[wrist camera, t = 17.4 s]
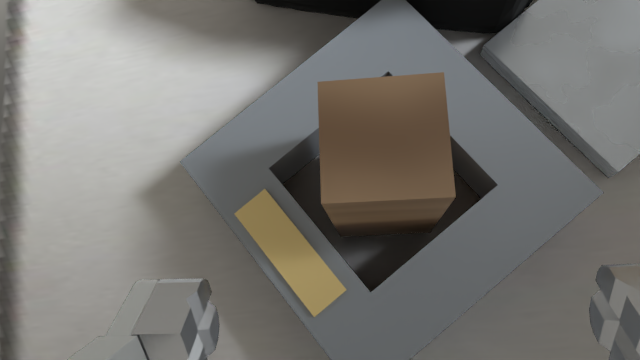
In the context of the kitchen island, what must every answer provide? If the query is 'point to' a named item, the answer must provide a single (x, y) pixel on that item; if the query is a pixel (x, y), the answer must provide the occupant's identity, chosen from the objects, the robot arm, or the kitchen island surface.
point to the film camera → (426, 11)
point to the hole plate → (436, 257)
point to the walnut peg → (385, 154)
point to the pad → (578, 72)
